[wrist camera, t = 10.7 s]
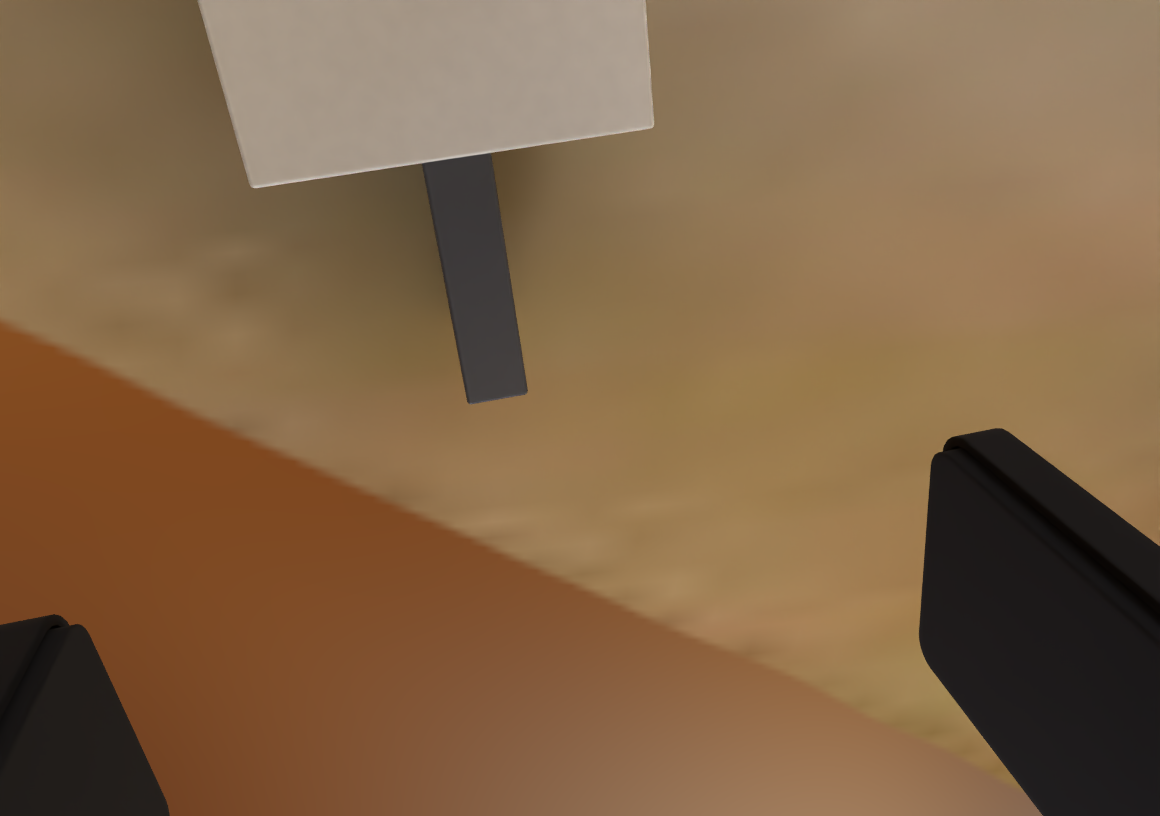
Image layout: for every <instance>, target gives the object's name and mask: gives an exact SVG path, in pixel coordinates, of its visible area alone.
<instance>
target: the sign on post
mask: <svg viewBox="0 0 1160 816" xmlns="http://www.w3.org/2000/svg"><path fill="white" fill-rule="evenodd" d="M197 1H198V4H199V8H200V11H201V15H202V18H203V22H204V25H205V29H206V32H207V36H208V40H209V43H210V47H211V50H212V54H213V57H214V61H215V64H216V68H217V71H218V75H219V79H220V82H221V86H222V89H223V93H224V96H225V100H226V103H227V107H228V110H229V114H230V118H231V121H232V125H233V128H234V132H235V135H236V139H237V142H238V146H239V149H240V153H241V157H242V160H243V164H244V167H245V171H246V174H247V178H248V181H249V185H250V186H251V187H252V188H261V187H267V186H274V185H280V184H287V183H294V182H300V181H307V180H314V179H320V178H327V177H333V176H340V175H347V174H353V173H360V172H366V171H373V170H380V169H386V168H393V167H400V166H406V165H413V164H419V163H422V167H423V172H424V178H425V183H426V188H427V193H428V198H429V204H430V209H431V214H432V219H433V225H434V230H435V235H436V240H437V246H438V251H439V256H440V261H441V267H442V272H443V277H444V282H445V288H446V293H447V298H448V303H449V308H450V314H451V319H452V324H453V329H454V335H455V340H456V345H457V350H458V356H459V361H460V366H461V371H462V377H463V382H464V387H465V392H466V398H467V402H468V403H469V404H475V403H481V402H487V401H492V400H498V399H503V398H509V397H514V396H520V395H525V394H527V391H528V389H527V383H526V376H525V370H524V363H523V357H522V350H521V344H520V337H519V331H518V324H517V318H516V311H515V305H514V299H513V292H512V286H511V279H510V273H509V266H508V260H507V253H506V247H505V240H504V234H503V228H502V221H501V215H500V208H499V202H498V195H497V189H496V182H495V176H494V169H493V163H492V156H491V153H492V152H499V151H505V150H512V149H519V148H525V147H532V146H538V145H545V144H552V143H558V142H565V141H572V140H578V139H585V138H591V137H598V136H605V135H611V134H618V133H625V132H631V131H638V130H644V129H650V128H652V127H653V126H654V113H653V99H652V85H651V71H650V56H649V42H648V28H647V14H646V0H197Z"/></svg>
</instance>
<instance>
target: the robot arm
mask: <svg viewBox="0 0 1160 816" xmlns="http://www.w3.org/2000/svg"><path fill="white" fill-rule="evenodd" d="M919 640H920V646H921V649H922V652H923V655H924V657H925V660H926V662H927V663H928V665H929V666H930V668H931V669H932V671H933V672H934V673H935V675H936V676H937V677H938V679H939V680H940V681H941V682H942V684H943V685H944V686H945V688H946V689H947V690H948V692H949V693H950V694H951V696H952V697H953V698H954V700H955V701H956V702H957V703H958V705H959V706H960V707H961V709H962V710H963V711H964V713H965V714H966V715H967V717H968V718H969V719H970V721H971V722H972V723H973V724H974V726H975V727H976V728H977V730H978V731H979V732H980V734H981V735H982V736H983V738H984V739H985V740H986V742H987V743H988V744H989V745H990V747H991V748H992V749H993V751H994V752H995V753H996V755H997V756H998V757H999V759H1000V760H1001V761H1002V763H1003V764H1004V765H1005V766H1006V768H1007V769H1008V770H1009V772H1010V773H1011V774H1012V776H1013V777H1014V778H1015V780H1016V781H1017V782H1018V784H1019V785H1020V786H1021V788H1022V789H1023V790H1024V791H1025V793H1026V794H1027V795H1028V797H1029V798H1030V799H1031V801H1032V802H1033V803H1034V805H1035V806H1036V807H1037V809H1038V810H1039V811H1040V812H1041V814H1042V815H1043V816H1160V546H1158V545H1157V544H1156V543H1154V542H1153V541H1152V540H1150V539H1149V538H1148V537H1146V536H1145V535H1144V534H1142V533H1141V532H1140V531H1139V530H1137V529H1136V528H1135V527H1133V526H1132V525H1131V524H1129V523H1128V522H1127V521H1125V520H1124V519H1123V518H1121V517H1120V516H1119V515H1117V514H1116V513H1115V512H1113V511H1112V510H1111V509H1110V508H1108V507H1107V506H1106V505H1104V504H1103V503H1102V502H1100V501H1099V500H1098V499H1096V498H1095V497H1094V496H1092V495H1091V494H1090V493H1088V492H1087V491H1086V490H1084V489H1083V488H1082V487H1081V486H1079V485H1078V484H1077V483H1075V482H1074V481H1073V480H1071V479H1070V478H1069V477H1067V476H1066V475H1065V474H1063V473H1062V472H1061V471H1059V470H1058V469H1057V468H1056V467H1054V466H1053V465H1052V464H1050V463H1049V462H1048V461H1046V460H1045V459H1044V458H1042V457H1041V456H1040V455H1038V454H1037V453H1036V452H1034V451H1033V450H1032V449H1030V448H1029V447H1028V446H1027V445H1025V444H1024V443H1023V442H1021V441H1020V440H1019V439H1017V438H1016V437H1015V436H1013V435H1012V434H1011V433H1009V432H1008V431H1006V430H1004V429H1000V428H995V429H990V430H985V431H980V432H975V433H970V434H965V435H960V436H955V437H951V438H950V439H948V440H947V442H946V444H945V445H944V448H943V452H939V453H937V454H935V455H934V457H933V459H932V463H931V472H930V486H929V500H928V514H927V528H926V542H925V557H924V571H923V585H922V599H921V613H920V627H919ZM0 816H169V810H168V805H167V802H166V799H165V797H164V795H163V793H162V791H161V789H160V786H159V784H158V782H157V780H156V778H155V776H154V774H153V771H152V769H151V767H150V765H149V763H148V761H147V758H146V756H145V754H144V752H143V750H142V747H141V745H140V743H139V741H138V739H137V737H136V734H135V732H134V730H133V728H132V726H131V724H130V721H129V719H128V717H127V715H126V713H125V711H124V709H123V707H122V704H121V702H120V700H119V698H118V695H117V693H116V691H115V689H114V687H113V685H112V682H111V681H110V678H109V676H108V674H107V672H106V670H105V667H104V665H103V663H102V661H101V659H100V657H99V654H98V652H97V650H96V648H95V646H94V644H93V642H92V639H91V637H90V635H89V633H88V632H87V630H86V629H85V628H84V627H83V626H82V625H79V624H75V625H71V626H69V624H68V622H67V621H66V620H65V619H63V617H61V616H59V615H55V614H53V615H49V616H43V617H38V618H33V619H28V620H23V621H18V622H13V623H8V624H3V625H0Z"/></svg>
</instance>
